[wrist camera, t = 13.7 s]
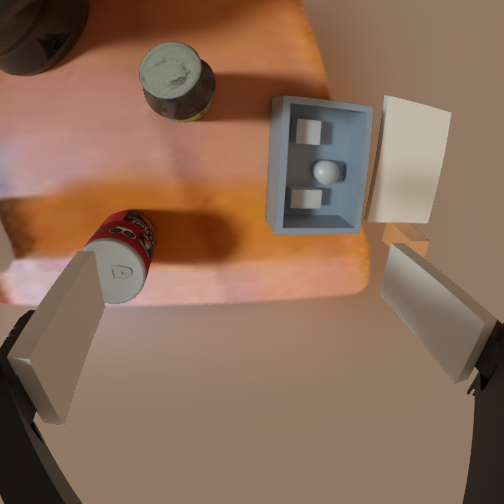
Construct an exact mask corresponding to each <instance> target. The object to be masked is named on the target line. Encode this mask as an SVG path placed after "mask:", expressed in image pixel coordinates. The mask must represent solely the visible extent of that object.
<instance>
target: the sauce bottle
mask: <svg viewBox="0 0 504 504" xmlns="http://www.w3.org/2000/svg"><path fill="white" fill-rule="evenodd" d="M139 75H140V81H141V84H142V86H143V91H144V95H145V98H146V101H147V102H148V104H149V105H150V107H151V108H152V109H153V110H154V111H155V112H157V113H158V114H159V115H161V116H163V117H165V118H168V119H172V120H175V121H178V122H191V121H194V120H197V119H198V118H200V117H202V116H203V115H204V114H205V113H206V112H207V110H208V109H209V107H210V105H211V102H212V99H213V95H214V92H215V76H214V73H213V71H212V69H211V67H210V66H209V65H208V64H207V63H206V62H204V61H203V60H201V59H200V57H199V55H198V54H197V52H196V51H195V50H194V49H193V48H192V47H190V46H188V45H186V44H184V43H181V42H173V41H171V42H166V43H162V44H160V45H158V46H156V47H154V48H153V49H151V50H150V51H149V52H148V53H147V55H146V56H145V57H144V59H143V60H142V63H141V65H140V71H139Z"/></svg>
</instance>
